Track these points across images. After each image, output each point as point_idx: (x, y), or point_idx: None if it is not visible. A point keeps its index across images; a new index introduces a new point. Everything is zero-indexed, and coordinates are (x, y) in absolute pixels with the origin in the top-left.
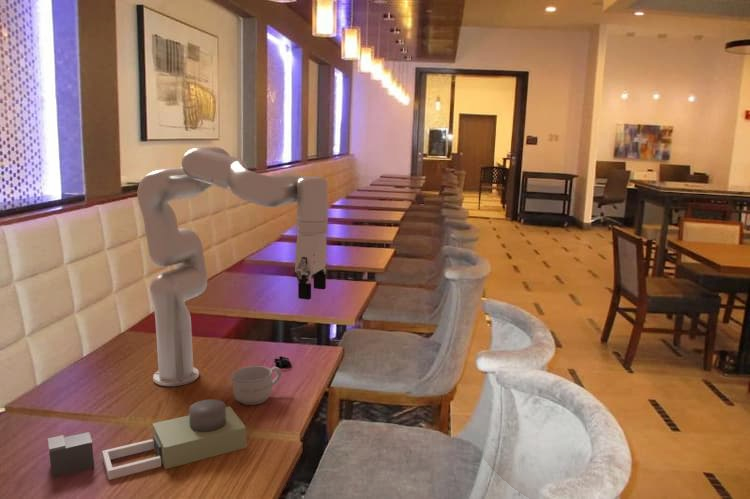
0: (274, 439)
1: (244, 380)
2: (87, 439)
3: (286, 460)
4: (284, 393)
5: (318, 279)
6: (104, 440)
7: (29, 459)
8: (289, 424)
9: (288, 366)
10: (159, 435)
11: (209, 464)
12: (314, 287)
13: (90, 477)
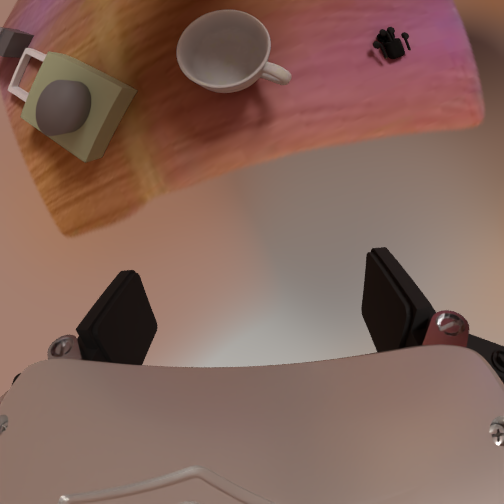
0: (135, 176)
1: (245, 26)
2: (4, 47)
3: (107, 221)
4: (282, 96)
5: (386, 318)
6: (57, 11)
7: (21, 7)
8: (181, 168)
9: (388, 56)
10: (32, 86)
11: (60, 146)
12: (367, 257)
13: (12, 73)
